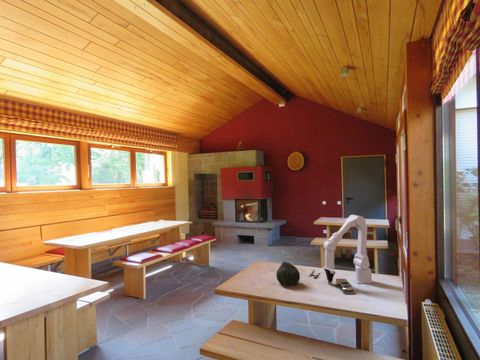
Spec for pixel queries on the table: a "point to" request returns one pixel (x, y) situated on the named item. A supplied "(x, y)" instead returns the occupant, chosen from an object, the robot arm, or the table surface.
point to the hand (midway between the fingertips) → (329, 281)
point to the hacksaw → (314, 275)
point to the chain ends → (345, 286)
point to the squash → (287, 274)
